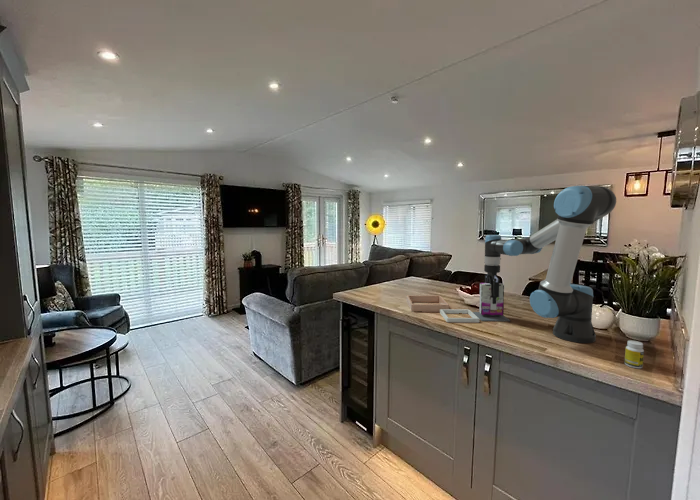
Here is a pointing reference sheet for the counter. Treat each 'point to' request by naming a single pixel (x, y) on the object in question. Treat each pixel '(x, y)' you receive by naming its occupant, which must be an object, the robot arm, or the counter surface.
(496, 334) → the counter surface
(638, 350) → the supplement bottle
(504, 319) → the mat
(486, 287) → the candy bar box
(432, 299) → the pinkish tan tray
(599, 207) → the robot arm
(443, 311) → the grey square frame
